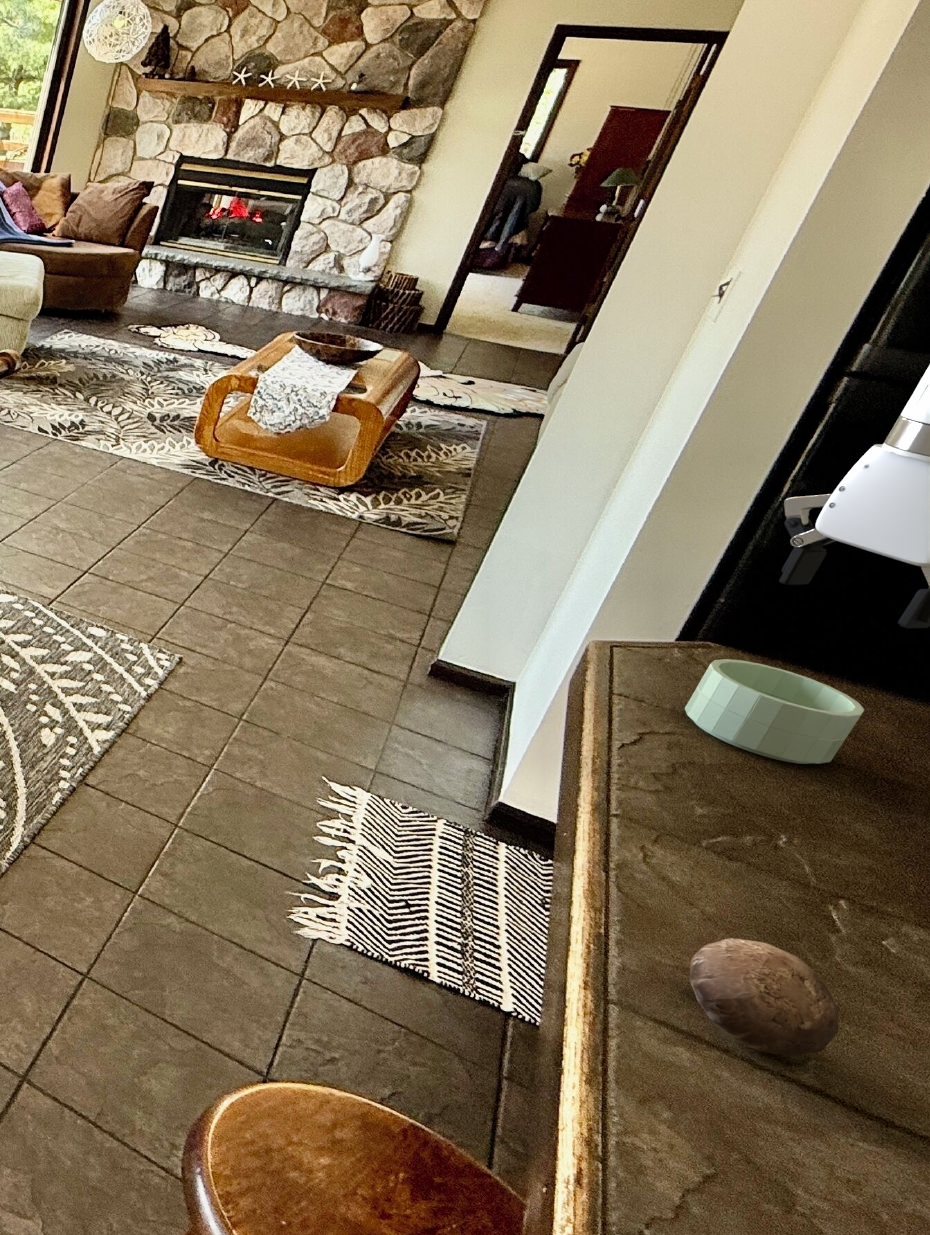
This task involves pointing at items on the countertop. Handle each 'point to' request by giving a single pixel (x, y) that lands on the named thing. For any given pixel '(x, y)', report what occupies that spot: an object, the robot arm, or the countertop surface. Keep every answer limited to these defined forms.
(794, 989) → the mushroom
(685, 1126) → the countertop surface
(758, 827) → the countertop surface
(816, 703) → the bowl
